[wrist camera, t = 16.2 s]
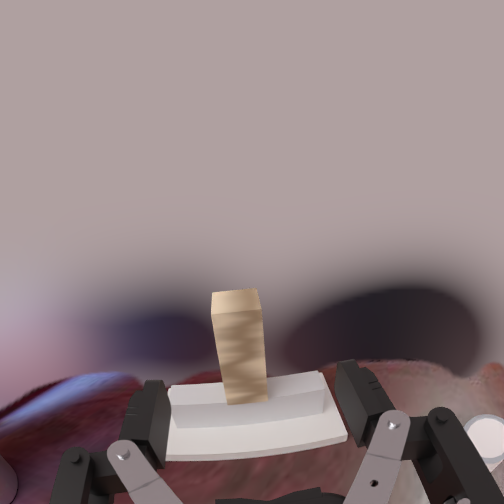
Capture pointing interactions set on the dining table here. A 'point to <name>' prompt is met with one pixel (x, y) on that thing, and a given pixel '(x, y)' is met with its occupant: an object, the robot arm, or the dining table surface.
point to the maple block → (240, 345)
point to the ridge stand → (253, 420)
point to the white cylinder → (487, 438)
